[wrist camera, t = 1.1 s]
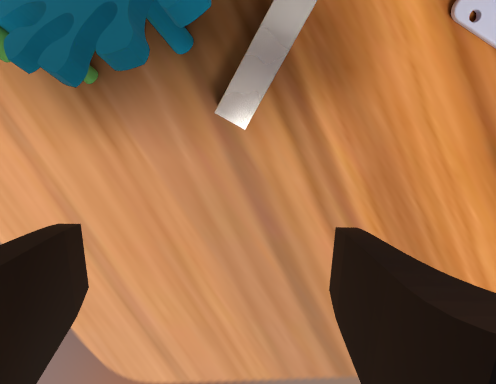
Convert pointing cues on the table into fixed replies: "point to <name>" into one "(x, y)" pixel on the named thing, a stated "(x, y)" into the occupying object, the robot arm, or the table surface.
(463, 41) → the table surface
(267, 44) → the rail dock
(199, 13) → the gear
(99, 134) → the table surface
